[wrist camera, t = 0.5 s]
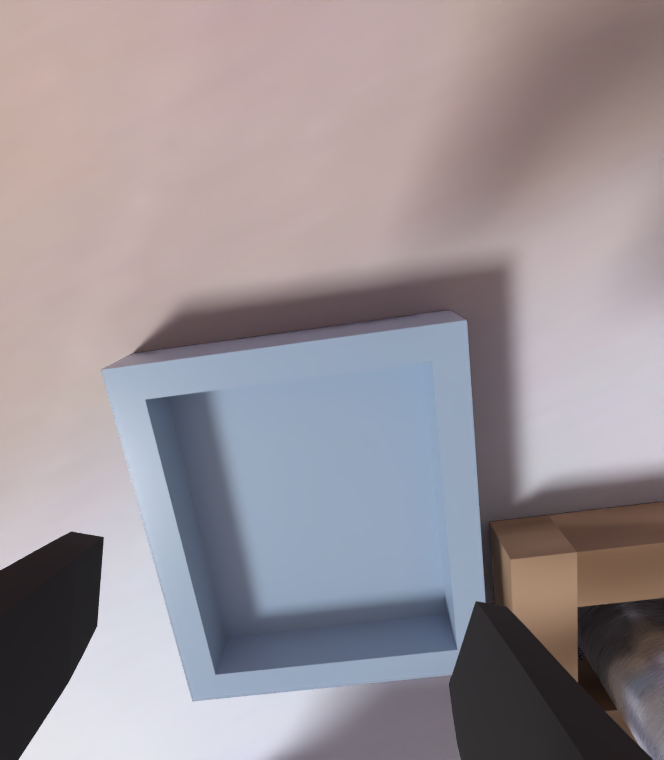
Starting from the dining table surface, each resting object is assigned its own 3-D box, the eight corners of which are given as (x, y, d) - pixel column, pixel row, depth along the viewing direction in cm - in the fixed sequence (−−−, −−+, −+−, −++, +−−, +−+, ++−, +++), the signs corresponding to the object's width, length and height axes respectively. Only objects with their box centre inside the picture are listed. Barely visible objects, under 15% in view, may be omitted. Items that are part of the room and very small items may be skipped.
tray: (472, 623, 21) (490, 671, 19) (208, 651, 22) (192, 701, 20) (449, 309, 18) (466, 319, 15) (132, 353, 18) (100, 369, 16)
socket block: (720, 687, 22) (766, 741, 20) (500, 708, 23) (520, 763, 20) (738, 493, 20) (794, 527, 17) (489, 521, 20) (510, 559, 18)
